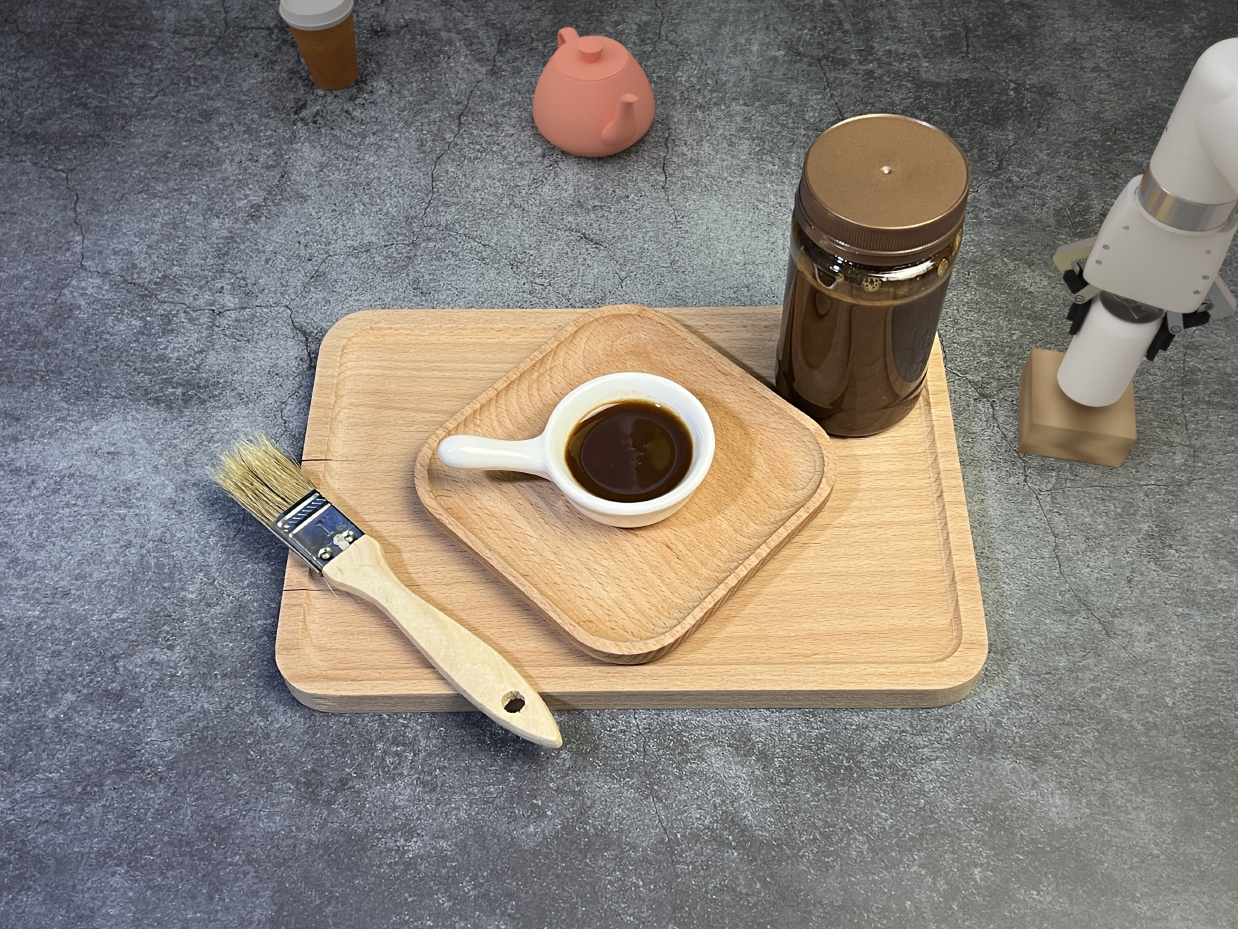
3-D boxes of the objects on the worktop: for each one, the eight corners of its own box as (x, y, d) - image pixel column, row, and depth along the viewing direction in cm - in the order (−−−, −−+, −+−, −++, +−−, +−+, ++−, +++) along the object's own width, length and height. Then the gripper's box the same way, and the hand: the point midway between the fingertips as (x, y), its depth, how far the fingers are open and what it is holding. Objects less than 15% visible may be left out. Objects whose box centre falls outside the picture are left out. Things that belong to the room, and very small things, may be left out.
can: (1096, 351, 112) (1139, 266, 102) (1136, 397, 109) (1185, 314, 99) (1042, 371, 111) (1080, 287, 101) (1081, 418, 107) (1124, 335, 97)
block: (1115, 392, 117) (1132, 361, 113) (1119, 467, 112) (1137, 439, 108) (1018, 377, 119) (1032, 347, 114) (1018, 452, 113) (1032, 423, 109)
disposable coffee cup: (287, 87, 150) (262, 7, 140) (324, 48, 155) (302, -33, 145) (347, 104, 147) (326, 23, 138) (383, 63, 152) (365, -18, 142)
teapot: (690, 164, 139) (693, 80, 129) (577, 202, 136) (571, 118, 125) (616, 68, 151) (613, -17, 140) (510, 101, 147) (500, 16, 137)
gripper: (1309, 193, 89) (1215, 341, 104) (1092, 134, 94) (1032, 282, 108) (1295, 253, 85) (1200, 397, 100) (1070, 188, 90) (1011, 334, 105)
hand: (1113, 336), depth 104 cm, fingers closed on can, 6 cm apart
